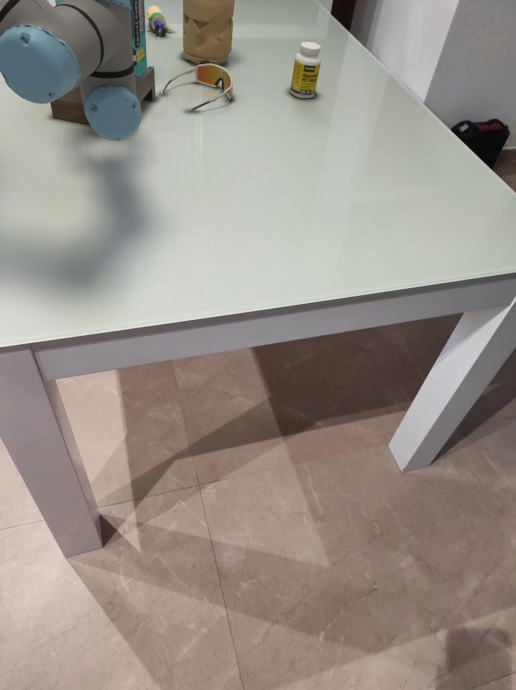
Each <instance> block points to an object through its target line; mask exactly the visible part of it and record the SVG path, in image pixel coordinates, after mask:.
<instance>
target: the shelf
mask: <svg viewBox="0 0 516 690" xmlns="http://www.w3.org/2000/svg"><path fill="white" fill-rule="evenodd" d="M155 75H156V74H155V66H150V65H149V66H147V69H146V70H145V71H144V72H143V74H142V75H141V76H135V85H136V96H137V97H138V100H139V101H140V103H142V101H143V100H147V101H154V100H155V99H156V76H155ZM49 104H50V109H51V114H52V119H58V120H63V121H67V122H68V121H69V122H73V123H78V124H84V125H89V126H90V123H89V121H88V119H87V118H86V116H85V112H84V105H83V101H82V96H81V93H80V90H79V86H77V87H76V88H75V89H74V90H73V91H70V92H69V93H67V94H65V95H63V96H61V97H60V98H58V99H56V100H54V101H52V102H50V103H49Z"/></svg>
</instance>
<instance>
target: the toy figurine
mask: <svg viewBox="0 0 516 690" xmlns="http://www.w3.org/2000/svg"><path fill="white" fill-rule="evenodd" d="M145 21H148V23H149V26H150V27H151V28H152V30H153V32H154V33H155V34H160V36H161V37H163V38H164V37H165V36H166V34H167V32H168V33H171V32H172V31H173V28H172V27H171V26H169V25H168V24H167V20H166V18H165V17H164V14H163V13H162V11H161V9H160V8H159V6H157V5H151V6H149V7H148V8H147V11H146V14H145Z"/></svg>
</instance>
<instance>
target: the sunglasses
mask: <svg viewBox="0 0 516 690" xmlns="http://www.w3.org/2000/svg"><path fill="white" fill-rule="evenodd" d="M193 73H194V75H195V81H196V83H199V84H202V85H204V86H205V85H206V86H209V87H212V88H217V87H218V86H219V85H220V84H221V89H222V90H223V92H222V93H220V94H219V95H217V96H215V97H213V98H209V99H207V100H206V101H204V102H202V103H199V104H198V105H195V106H193V107H191V108H189V109H188V111H189V112H193V111H197V110H198V109H200V108H202V107H204V106H207V105H210V104H211V103H212V104H213V103H215V102H216V101H217V100H219V99H221V98H222V97H224V96H227V98H228V100H232V97H233V92H234V85H233V84H234V82H233V77H232V74H231V72H229V70H228V69H226V67H223V66H221V65H220V64H211V63H209V62H206V63H203V64H196V65H195V66H193V67H190V68H188V69H186V70H184V71H182V72H180V73H178V74H176V75H174V76H172V77H171V78H169V80H168V81H167V82H166V83H165V85H164V86H163V88H162V91H161V92H160V94H161V95H162V96H163V95H164V93H165V91H166V90H167V88H168V86H169V85H170V84H171V83H172V82H174V81H176V80H177V79H178V78H180V77H182V76H184V75H190V74H193Z"/></svg>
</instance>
